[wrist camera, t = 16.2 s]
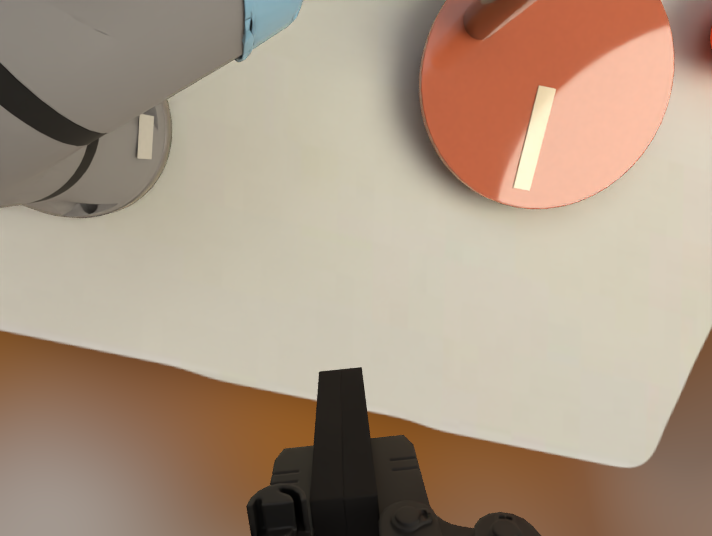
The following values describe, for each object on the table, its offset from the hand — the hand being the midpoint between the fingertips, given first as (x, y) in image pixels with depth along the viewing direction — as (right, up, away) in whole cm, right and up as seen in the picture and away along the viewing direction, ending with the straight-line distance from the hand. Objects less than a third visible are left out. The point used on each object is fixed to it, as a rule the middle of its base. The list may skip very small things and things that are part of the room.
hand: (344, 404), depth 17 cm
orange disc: (+15, +20, +22) cm, 33 cm away
